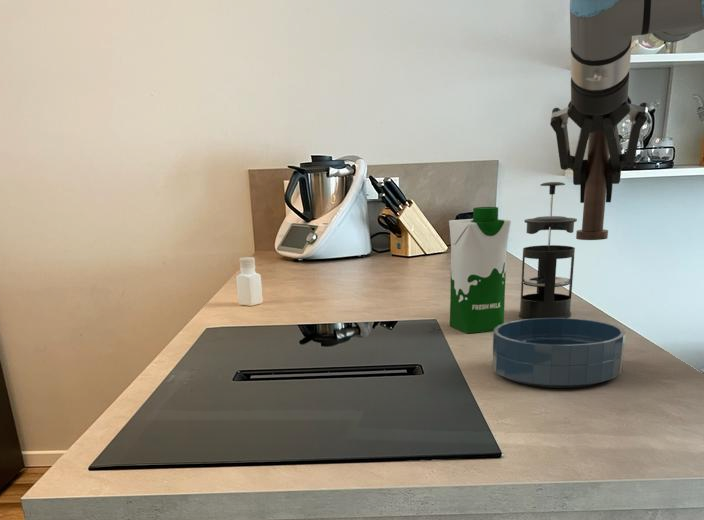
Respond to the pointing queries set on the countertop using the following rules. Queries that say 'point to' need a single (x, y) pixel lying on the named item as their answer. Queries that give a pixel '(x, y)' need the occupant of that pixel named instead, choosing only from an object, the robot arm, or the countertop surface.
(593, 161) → the brown wooden cylinder
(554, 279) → the french press
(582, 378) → the bowl
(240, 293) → the pepper shaker
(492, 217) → the milk carton
